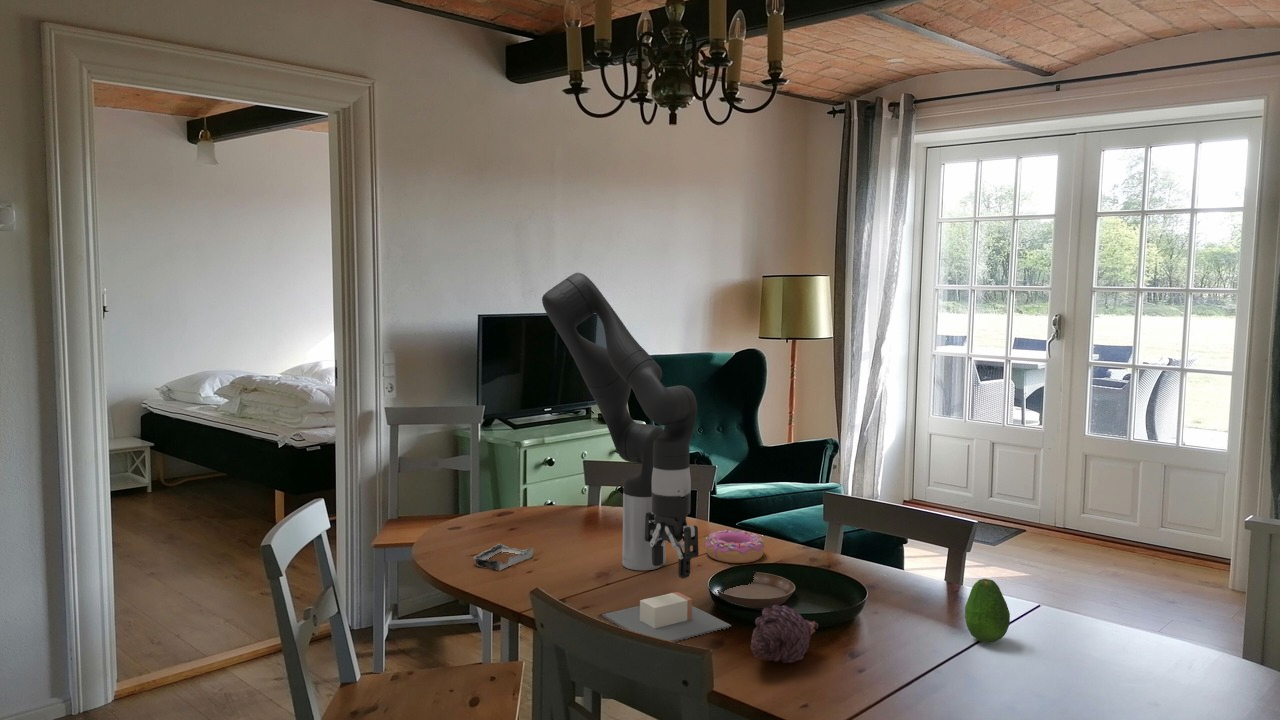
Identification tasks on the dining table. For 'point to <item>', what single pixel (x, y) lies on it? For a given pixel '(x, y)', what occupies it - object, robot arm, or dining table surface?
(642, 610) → the cream block
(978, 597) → the avocado
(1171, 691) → the dining table surface
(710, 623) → the mat
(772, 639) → the purple artichoke
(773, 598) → the plant saucer
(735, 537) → the donut
